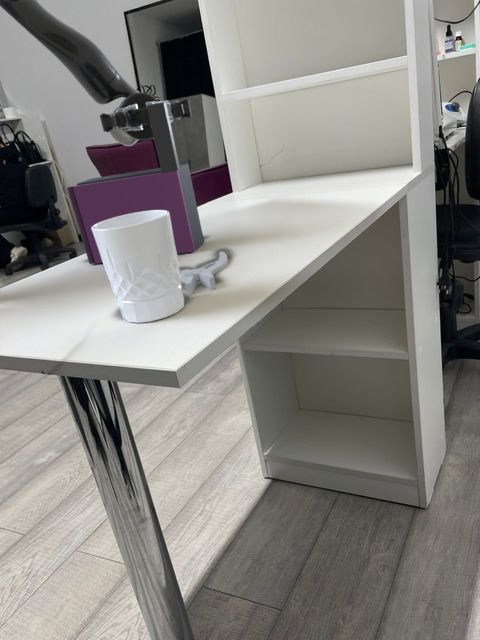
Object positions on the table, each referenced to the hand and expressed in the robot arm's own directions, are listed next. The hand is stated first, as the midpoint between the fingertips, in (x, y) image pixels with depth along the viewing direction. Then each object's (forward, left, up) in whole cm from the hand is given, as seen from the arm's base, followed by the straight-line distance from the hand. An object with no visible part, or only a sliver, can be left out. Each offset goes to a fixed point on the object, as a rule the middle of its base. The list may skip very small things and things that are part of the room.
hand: (150, 114), depth 81 cm
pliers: (+9, -21, -20) cm, 30 cm away
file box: (-3, -5, -19) cm, 20 cm away
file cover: (-3, -8, -19) cm, 21 cm away
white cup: (+7, -33, -20) cm, 39 cm away
